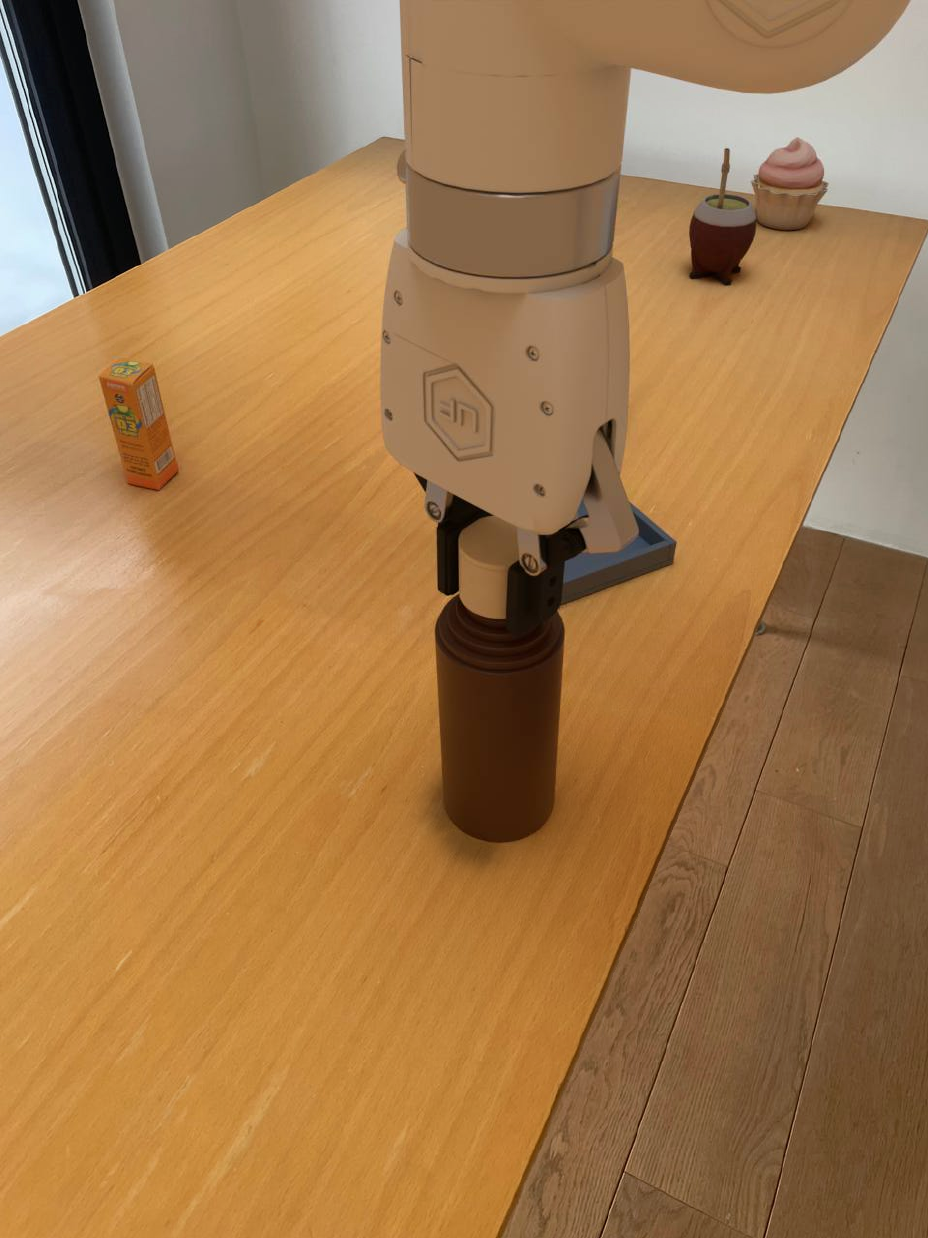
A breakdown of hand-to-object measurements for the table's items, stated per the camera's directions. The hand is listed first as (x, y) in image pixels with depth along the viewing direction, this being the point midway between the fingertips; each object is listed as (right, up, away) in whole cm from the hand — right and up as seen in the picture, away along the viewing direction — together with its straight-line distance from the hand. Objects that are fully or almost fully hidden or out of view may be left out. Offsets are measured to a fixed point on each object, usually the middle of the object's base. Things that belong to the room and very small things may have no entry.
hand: (497, 597), depth 48 cm
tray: (+5, +4, +28) cm, 28 cm away
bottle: (0, -11, +10) cm, 15 cm away
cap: (0, 0, 0) cm, 0 cm away
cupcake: (+38, +48, +78) cm, 99 cm away
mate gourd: (+27, +38, +66) cm, 80 cm away
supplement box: (-27, +10, +35) cm, 45 cm away
